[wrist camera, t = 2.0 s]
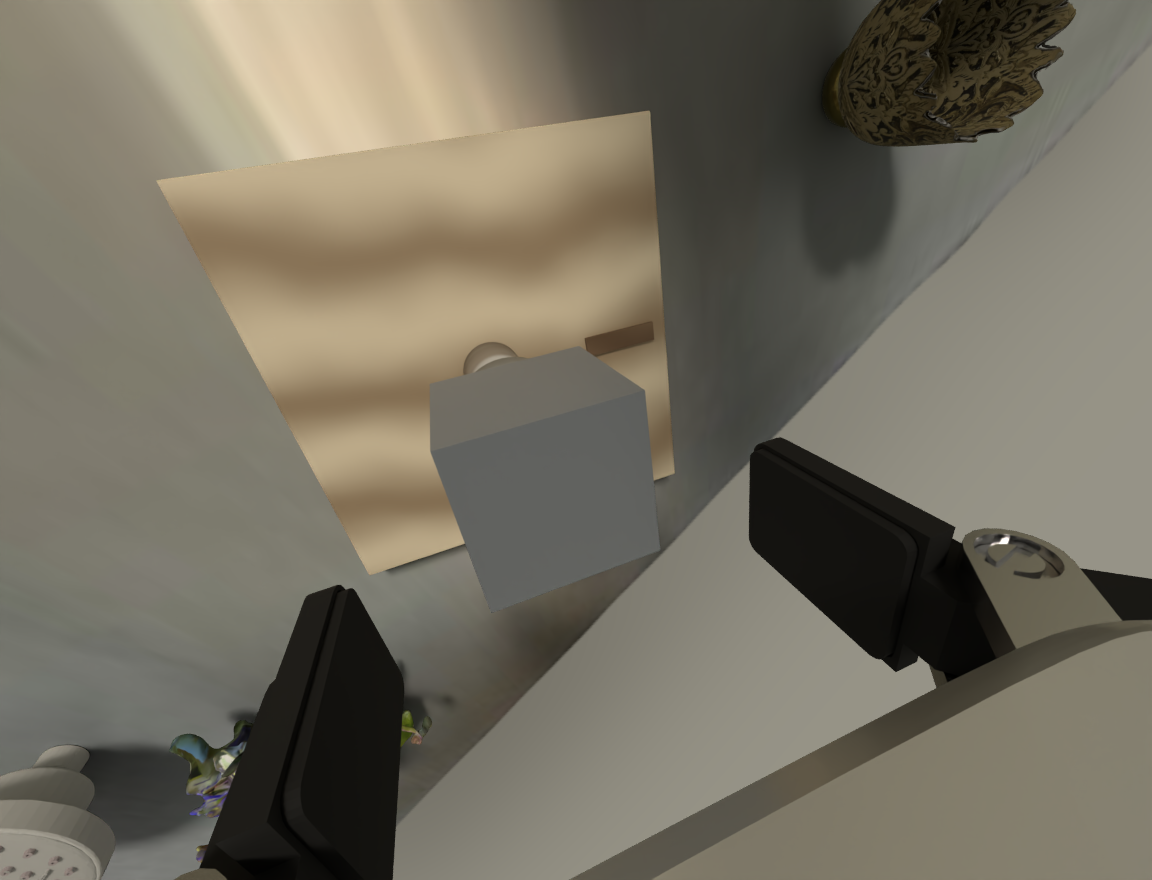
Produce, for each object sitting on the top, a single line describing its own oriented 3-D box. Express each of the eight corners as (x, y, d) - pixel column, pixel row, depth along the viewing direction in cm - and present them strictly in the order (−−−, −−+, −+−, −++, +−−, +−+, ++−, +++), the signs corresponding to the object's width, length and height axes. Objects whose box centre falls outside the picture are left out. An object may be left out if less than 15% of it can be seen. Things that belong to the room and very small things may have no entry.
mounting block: (183, 186, 17) (19, 148, 10) (631, 121, 21) (730, 61, 14) (373, 553, 26) (353, 663, 20) (660, 460, 30) (729, 524, 23)
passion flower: (297, 658, 34) (102, 792, 23) (383, 586, 32) (212, 697, 20) (379, 774, 33) (221, 975, 22) (474, 711, 31) (352, 901, 19)
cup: (902, -14, 22) (1112, -129, 16) (891, 147, 26) (1059, 112, 19) (783, 21, 21) (953, -85, 15) (789, 184, 25) (927, 161, 18)
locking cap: (429, 367, 15) (430, 451, 9) (562, 334, 16) (645, 390, 10) (497, 567, 19) (529, 714, 13) (598, 532, 20) (670, 653, 14)
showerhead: (-206, 857, 16) (122, 858, 21) (-29, 686, 22) (192, 717, 27) (-280, 1001, 18) (42, 971, 22) (-94, 801, 24) (127, 811, 29)
